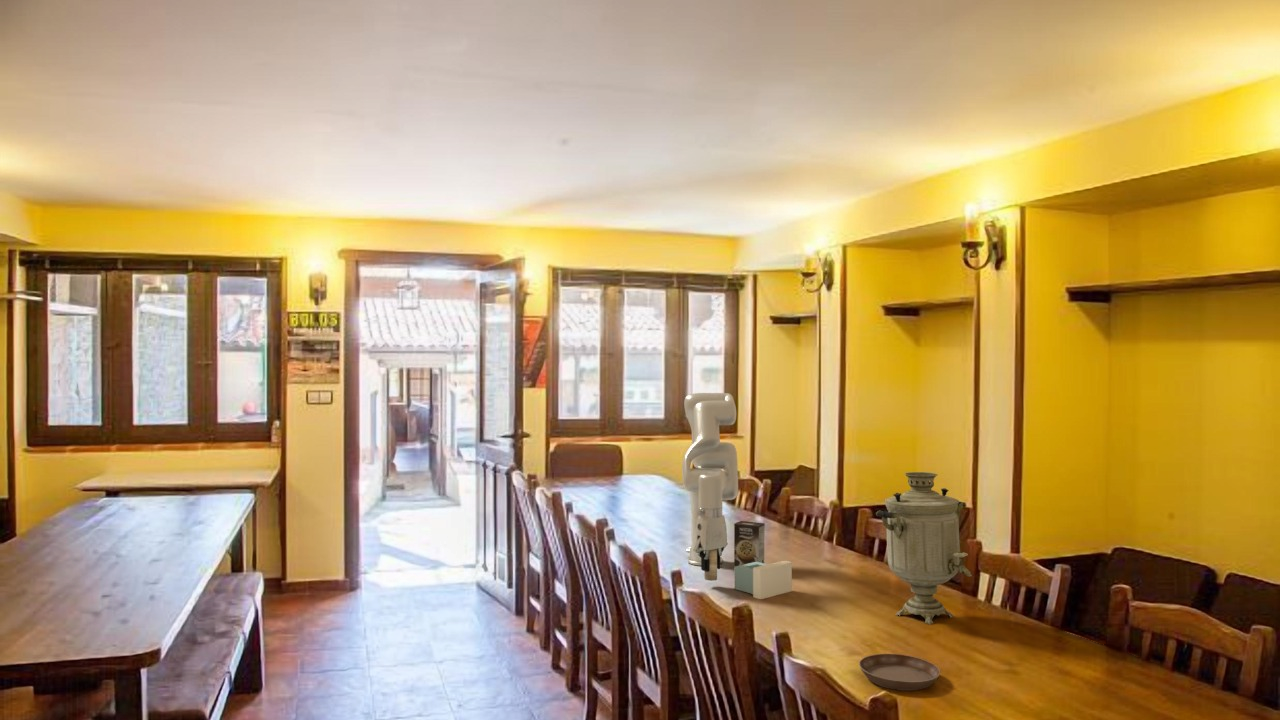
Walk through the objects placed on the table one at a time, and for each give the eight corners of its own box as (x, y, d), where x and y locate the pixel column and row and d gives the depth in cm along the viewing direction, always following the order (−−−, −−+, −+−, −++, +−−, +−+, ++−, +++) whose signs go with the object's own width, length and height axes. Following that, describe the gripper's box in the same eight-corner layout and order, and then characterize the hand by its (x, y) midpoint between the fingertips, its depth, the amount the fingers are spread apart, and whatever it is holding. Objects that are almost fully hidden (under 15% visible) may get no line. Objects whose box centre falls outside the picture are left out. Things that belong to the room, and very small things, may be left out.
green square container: (734, 588, 273) (734, 566, 272) (756, 583, 279) (756, 561, 279) (757, 595, 265) (757, 572, 265) (780, 589, 271) (780, 567, 271)
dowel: (701, 578, 276) (701, 547, 275) (711, 576, 278) (710, 545, 278) (710, 581, 273) (710, 549, 272) (719, 578, 275) (719, 547, 275)
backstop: (753, 597, 263) (753, 567, 263) (784, 589, 272) (784, 560, 272) (760, 599, 261) (760, 569, 261) (791, 591, 270) (791, 562, 270)
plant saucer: (923, 664, 206) (923, 652, 206) (952, 694, 189) (952, 680, 189) (849, 666, 206) (849, 653, 206) (872, 695, 188) (872, 681, 188)
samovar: (907, 638, 225) (907, 484, 224) (856, 609, 250) (855, 471, 250) (1005, 628, 233) (1005, 479, 232) (946, 601, 258) (945, 467, 257)
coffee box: (733, 570, 296) (733, 523, 296) (740, 566, 302) (740, 520, 301) (758, 573, 292) (758, 525, 291) (765, 569, 297) (765, 522, 297)
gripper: (699, 518, 266) (699, 577, 267) (737, 510, 277) (737, 567, 278) (682, 514, 272) (683, 571, 273) (721, 506, 283) (721, 562, 284)
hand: (710, 568), depth 275 cm, fingers closed on dowel, 4 cm apart
